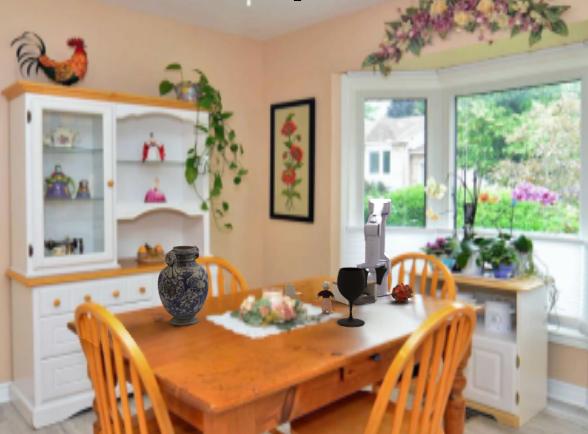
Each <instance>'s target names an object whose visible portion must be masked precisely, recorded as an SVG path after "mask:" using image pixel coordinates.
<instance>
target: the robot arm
mask: <svg viewBox="0 0 588 434" xmlns="http://www.w3.org/2000/svg"><path fill="white" fill-rule="evenodd" d="M367 207H368V208H367V209H368V212H369V216H368V219H367V222H366V224H364V227H363V236H364V242H365V244H364V245H365V246H364V262H363V263H359V264H356V268H362V269H363V270H364V274H365V281H366V283H365V287H367V279H368V280H372V281H376V283H377V297H382V296H388V295H389V296H391V293H392V292H389V291H388V290H389V289H388V285H389V284H388V282H389V280H388V278H389V277H388V276H389V275H390V274H391V272H392V259H391V257H390V255H388V254H386V228H387V227H386V226H387V225H386V224H387V223H386V222H387V219H388V218H390V217H391V215H392V200H391V199H390V198H370V199H368V205H367Z"/></svg>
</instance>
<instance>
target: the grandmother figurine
mask: <svg viewBox="0 0 588 434" xmlns="http://www.w3.org/2000/svg"><path fill="white" fill-rule="evenodd" d="M330 287H331V283H330V282H329V281H327V280H326V281H323V282H322V284H321V288H322V290H320V291H319V292H318V293H317V295H316V297H315V299H316V300H319V299H320V297H322V298H321V314H322V313H326V314H327V315H332V314H333V313H334V311H332V301H333V302H336V299H335V297H334V295H333V293H332V290H330ZM331 298H332V299H331Z"/></svg>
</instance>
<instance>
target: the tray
mask: <svg viewBox="0 0 588 434" xmlns="http://www.w3.org/2000/svg"><path fill="white" fill-rule="evenodd" d="M375 302H376V300H375V295H373V294H369V293H366V292H363V293H362V294H361V296H360V297H359V298H357V299H356V300H355V301H353V304H357V305H358V306H359V305H368V304H374V303H375Z"/></svg>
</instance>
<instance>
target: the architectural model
mask: <svg viewBox="0 0 588 434" xmlns="http://www.w3.org/2000/svg"><path fill="white" fill-rule="evenodd" d="M284 286H285V287H284V288H285V293H284V295H287V296H290V297H291V298H292V299H295V300H296V297H295V296H297V295H301V294H302V293H303V292H299V291H297V290H298V289H296V288H295V287H296V285H295V284H294V283H285V284H284Z"/></svg>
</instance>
